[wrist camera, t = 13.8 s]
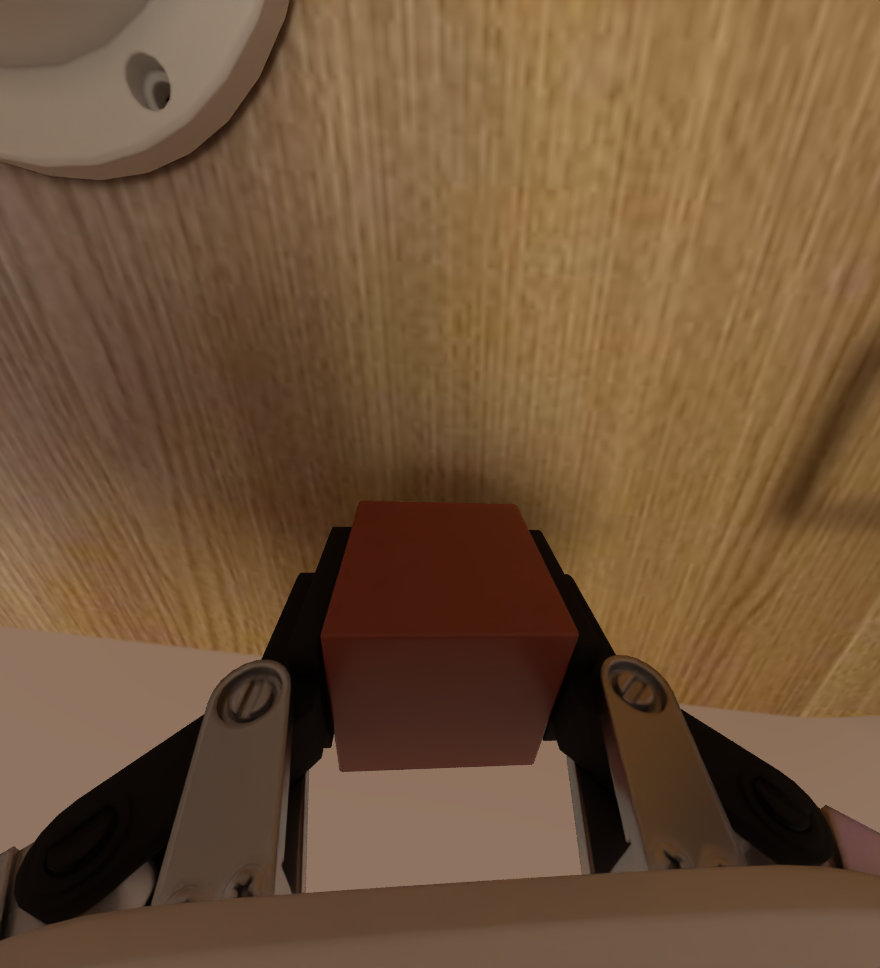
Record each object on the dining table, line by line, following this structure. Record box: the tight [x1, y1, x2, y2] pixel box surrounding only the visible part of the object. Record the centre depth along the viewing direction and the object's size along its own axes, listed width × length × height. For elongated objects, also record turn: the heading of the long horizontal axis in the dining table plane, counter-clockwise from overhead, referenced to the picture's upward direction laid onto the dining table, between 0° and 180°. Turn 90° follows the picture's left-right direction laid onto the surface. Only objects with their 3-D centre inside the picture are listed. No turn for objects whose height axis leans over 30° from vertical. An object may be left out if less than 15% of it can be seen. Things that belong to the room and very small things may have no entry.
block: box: [320, 501, 579, 772], centre depth 9 cm, size 4×4×4 cm
